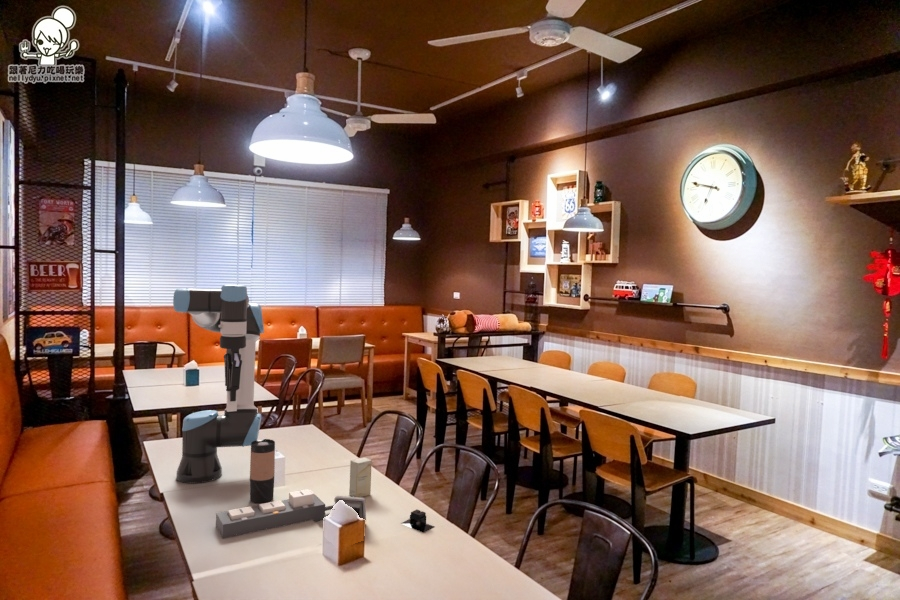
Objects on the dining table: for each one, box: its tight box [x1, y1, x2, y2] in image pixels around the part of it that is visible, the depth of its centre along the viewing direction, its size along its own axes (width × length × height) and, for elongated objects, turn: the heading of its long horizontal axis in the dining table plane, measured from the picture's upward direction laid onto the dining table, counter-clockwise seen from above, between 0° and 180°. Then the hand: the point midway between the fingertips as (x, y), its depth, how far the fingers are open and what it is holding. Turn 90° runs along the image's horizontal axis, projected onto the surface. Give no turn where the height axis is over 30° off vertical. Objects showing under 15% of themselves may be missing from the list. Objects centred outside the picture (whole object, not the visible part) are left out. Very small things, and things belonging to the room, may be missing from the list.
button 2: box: [258, 499, 285, 514], centre depth 174 cm, size 4×6×5 cm
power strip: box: [215, 493, 335, 539], centre depth 175 cm, size 9×36×5 cm, turn 124°
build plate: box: [400, 509, 436, 534], centre depth 177 cm, size 12×7×5 cm, turn 53°
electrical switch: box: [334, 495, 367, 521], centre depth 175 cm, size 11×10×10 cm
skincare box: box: [348, 456, 373, 498], centre depth 199 cm, size 6×4×12 cm
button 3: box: [288, 488, 315, 508], centre depth 179 cm, size 4×6×5 cm
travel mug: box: [249, 438, 276, 505], centre depth 189 cm, size 8×8×20 cm
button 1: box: [227, 505, 254, 520], centre depth 169 cm, size 4×6×5 cm
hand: (231, 410), depth 179 cm, fingers closed
